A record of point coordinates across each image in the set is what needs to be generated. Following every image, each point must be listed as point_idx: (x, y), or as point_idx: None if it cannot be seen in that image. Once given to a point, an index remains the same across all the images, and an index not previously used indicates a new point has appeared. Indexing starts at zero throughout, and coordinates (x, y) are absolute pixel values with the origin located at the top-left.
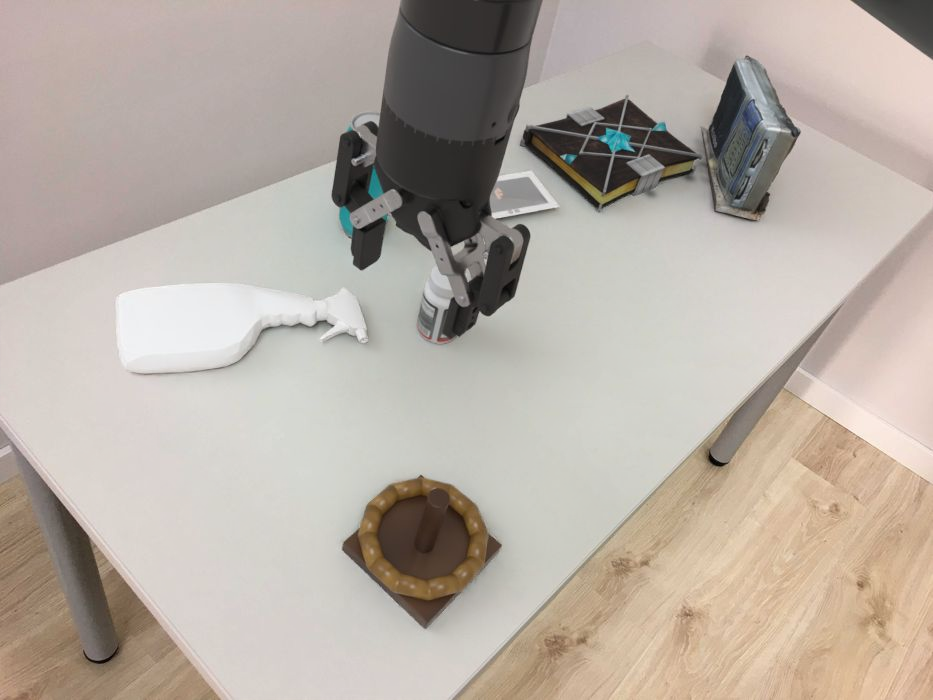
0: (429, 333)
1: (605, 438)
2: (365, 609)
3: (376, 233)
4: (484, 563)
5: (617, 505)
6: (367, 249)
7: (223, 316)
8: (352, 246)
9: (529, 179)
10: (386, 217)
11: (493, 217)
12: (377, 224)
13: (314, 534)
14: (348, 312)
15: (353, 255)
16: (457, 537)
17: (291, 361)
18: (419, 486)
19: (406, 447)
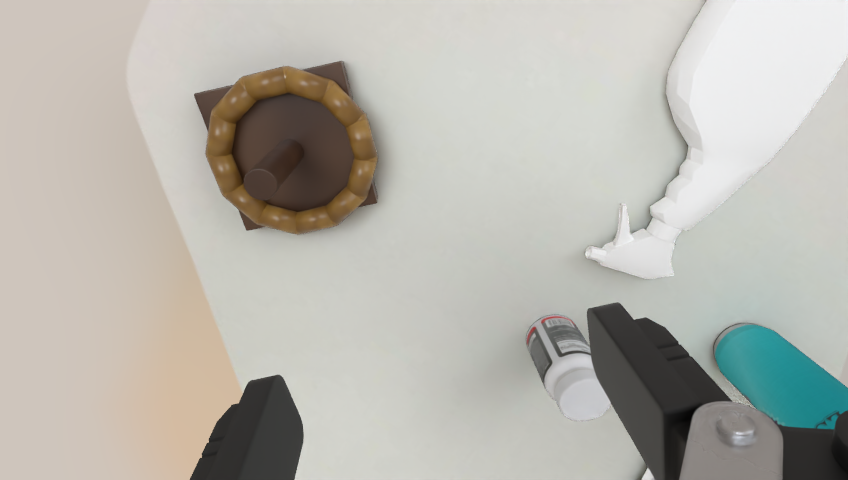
0: (546, 325)
1: (321, 403)
2: (257, 41)
3: (646, 435)
4: None
5: (244, 365)
6: (620, 370)
7: (741, 103)
8: (665, 337)
9: None
10: (730, 380)
11: (644, 478)
12: (670, 467)
13: (380, 41)
14: (635, 258)
15: (641, 320)
16: (278, 191)
17: (621, 155)
18: (352, 188)
19: (428, 211)
